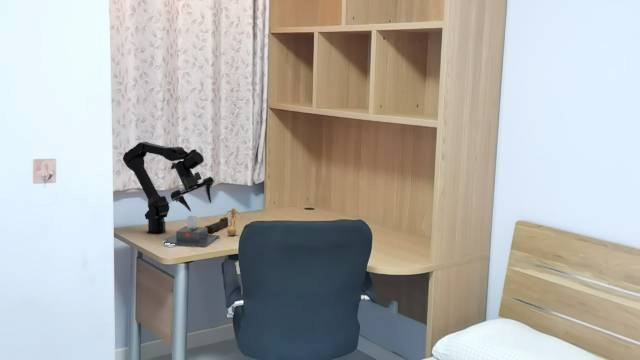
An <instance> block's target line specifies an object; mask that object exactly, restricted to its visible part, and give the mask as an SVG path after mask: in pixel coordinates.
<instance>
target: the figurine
mask: <svg viewBox="0 0 640 360" xmlns="http://www.w3.org/2000/svg"><path fill="white" fill-rule="evenodd" d="M229 213H231V215H230V216H229V217H230V218H229V223H230V226H229V227H228V228H227V230H226V232H227V234H228V235H229V236H231V237H232V236H235V235H236V234H237V228H236V227H235V225H236V220H237V215H236V214H237V213H238V214H239V215H240V220H243V216H242V212H240V211H239V210H237V209H236V208H235V207H232V208H231V209H230V210H228V211H227V212H226V213H225V214H224V217H223V218H225V217H227V215H228V214H229ZM232 221H233V222H232ZM232 224H233V225H232Z"/></svg>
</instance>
